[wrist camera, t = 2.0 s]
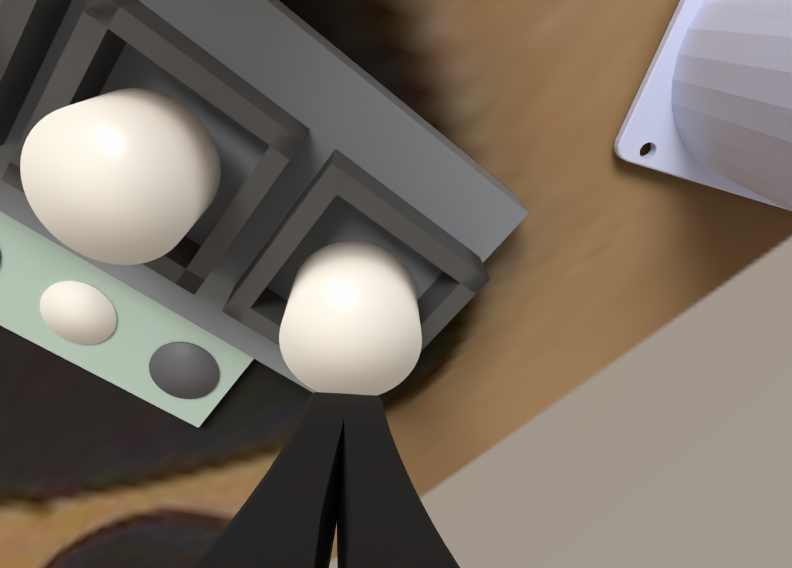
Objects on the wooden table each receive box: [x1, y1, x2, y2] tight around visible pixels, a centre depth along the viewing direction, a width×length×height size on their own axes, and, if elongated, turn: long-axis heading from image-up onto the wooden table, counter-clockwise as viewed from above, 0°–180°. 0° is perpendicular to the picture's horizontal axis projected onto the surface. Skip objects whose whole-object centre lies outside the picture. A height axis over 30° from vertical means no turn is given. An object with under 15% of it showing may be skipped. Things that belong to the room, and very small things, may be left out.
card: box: [0, 211, 254, 428], centre depth 20 cm, size 12×4×1 cm, turn 52°
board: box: [0, 0, 529, 396], centre depth 16 cm, size 19×10×4 cm, turn 52°
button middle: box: [20, 88, 221, 265], centre depth 13 cm, size 4×4×2 cm
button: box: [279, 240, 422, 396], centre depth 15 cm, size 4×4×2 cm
